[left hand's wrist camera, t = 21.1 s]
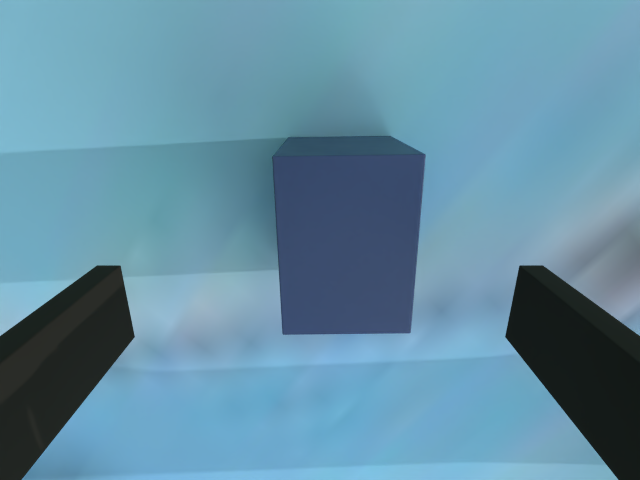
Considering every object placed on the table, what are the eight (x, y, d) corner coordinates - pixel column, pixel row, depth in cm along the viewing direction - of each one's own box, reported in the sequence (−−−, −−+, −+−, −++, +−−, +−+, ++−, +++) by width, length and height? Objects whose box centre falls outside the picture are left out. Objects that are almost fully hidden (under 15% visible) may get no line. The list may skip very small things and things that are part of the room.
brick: (293, 266, 27) (282, 335, 19) (287, 137, 24) (272, 156, 16) (384, 265, 27) (410, 333, 19) (390, 136, 24) (426, 154, 16)
